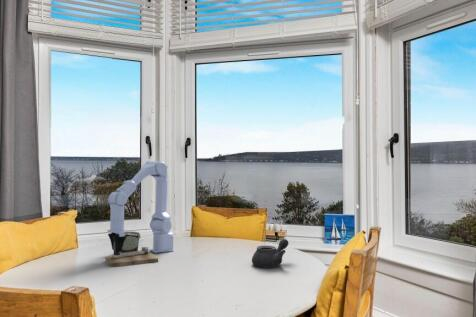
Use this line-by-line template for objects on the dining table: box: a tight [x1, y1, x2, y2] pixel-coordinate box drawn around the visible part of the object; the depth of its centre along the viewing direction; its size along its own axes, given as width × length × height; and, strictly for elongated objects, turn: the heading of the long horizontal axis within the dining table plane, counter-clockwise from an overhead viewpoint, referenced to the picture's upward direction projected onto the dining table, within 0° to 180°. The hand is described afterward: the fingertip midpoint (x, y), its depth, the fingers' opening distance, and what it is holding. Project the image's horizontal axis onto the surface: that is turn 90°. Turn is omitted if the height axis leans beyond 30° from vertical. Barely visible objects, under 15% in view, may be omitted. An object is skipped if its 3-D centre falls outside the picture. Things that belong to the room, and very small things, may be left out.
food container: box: [121, 231, 141, 253], centre depth 182 cm, size 12×6×10 cm, turn 84°
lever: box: [111, 242, 150, 258], centre depth 171 cm, size 16×3×7 cm, turn 129°
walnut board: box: [105, 252, 159, 268], centre depth 168 cm, size 20×12×2 cm, turn 118°
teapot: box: [251, 238, 289, 269], centre depth 165 cm, size 19×15×10 cm
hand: (116, 250), depth 168 cm, fingers open, 5 cm apart
